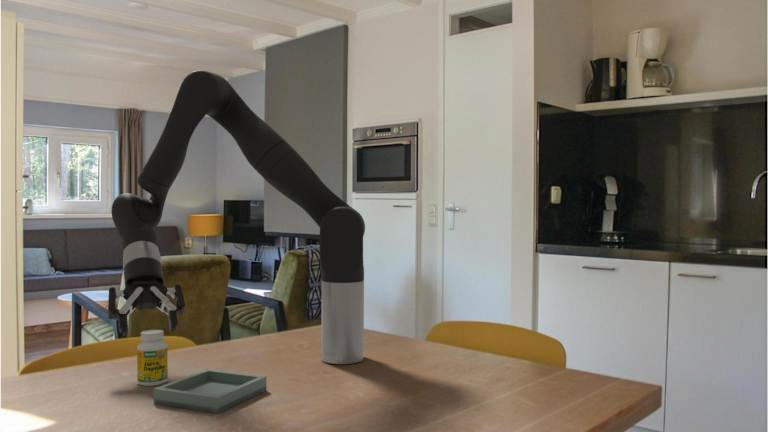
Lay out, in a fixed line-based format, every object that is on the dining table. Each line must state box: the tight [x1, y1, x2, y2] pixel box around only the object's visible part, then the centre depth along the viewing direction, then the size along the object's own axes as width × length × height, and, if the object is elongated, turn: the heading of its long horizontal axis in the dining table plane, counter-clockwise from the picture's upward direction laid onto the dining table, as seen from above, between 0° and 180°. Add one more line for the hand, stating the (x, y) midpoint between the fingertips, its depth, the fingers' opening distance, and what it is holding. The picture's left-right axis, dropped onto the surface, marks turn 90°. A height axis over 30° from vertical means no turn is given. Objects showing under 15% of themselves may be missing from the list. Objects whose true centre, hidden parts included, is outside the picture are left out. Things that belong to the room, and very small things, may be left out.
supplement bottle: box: [136, 329, 169, 387], centre depth 117 cm, size 5×5×10 cm
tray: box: [153, 368, 268, 414], centre depth 108 cm, size 14×13×2 cm
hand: (149, 331), depth 120 cm, fingers open, 8 cm apart
